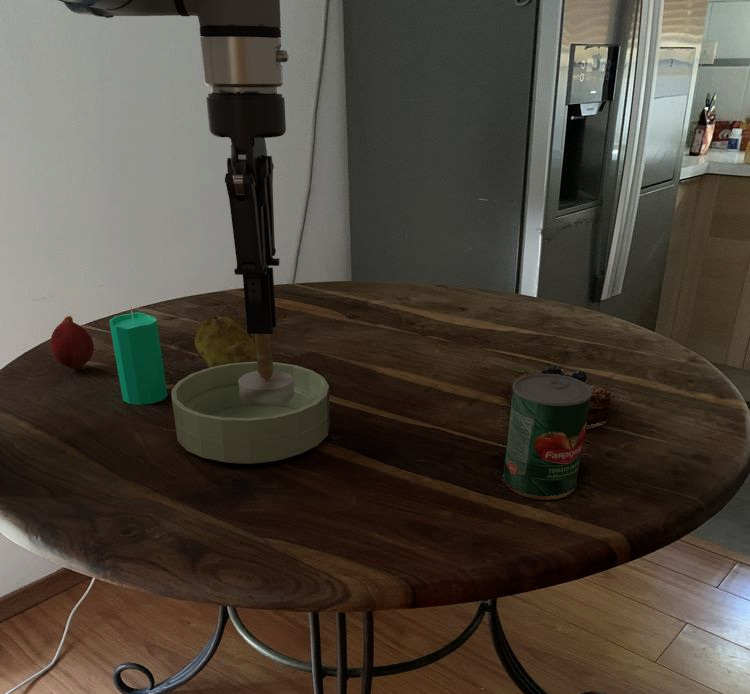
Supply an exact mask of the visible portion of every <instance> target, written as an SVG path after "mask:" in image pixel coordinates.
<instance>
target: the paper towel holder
mask: <svg viewBox="0 0 750 694" xmlns="http://www.w3.org/2000/svg"><path fill="white" fill-rule="evenodd" d="M266 273H267V272H266ZM254 342H255V344H256V356H257V369H258V371H254V372H250V373H247V374H245V375H243V376H241V377H240V378H239V393H240V398H241V400H242V401H244V402H246V403H249V404H252V405H261V406H268V405H277V404H281V403H284V402H287V401H289V400H291V399H292V398H293V396H294V378H293V376H292V375H291V374H289V373H287V372H283V371H278V370H273V362H274V358H273V348H272V347H273V346H272V345H273V344H272V343H273V342H272V334H254Z"/></svg>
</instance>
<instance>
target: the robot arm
mask: <svg viewBox="0 0 750 694" xmlns="http://www.w3.org/2000/svg"><path fill="white" fill-rule="evenodd" d="M58 1H59V2H61V3H64V5H65V7H66V8H67V9H68V10H70V12H72V13H74V14H77V15H84V16H95V17H99V18H101V17H102V18H105V19H110V18H114V17H165V16H166V17H167V16H169V17H173V16H175V17H177V16H181V17H191V16H192V17H197V19H198V24H199V36H200V50H201V60H202V73H203V83H204V85H206V86H207V87H210V93H208V94H207V97H205V99H206V108H207V109H206V111H207V123H208V131H209V133H210V134H211V135H212V136H214V137H216V138H228V139H230V144H231V145H230V157H227V159H226V173H225V177H224V183H225V186H226V190H227V195H228V201H229V207H230V208H229V209H230V217H231V218H230V219H231V226H232V234H233V243H234V252H235V258H236V259H235V260H236V268H234V269H233V270H234V275H236V276H242V282H243V283H242V284H243V294H244V296H243V297H244V308H245V319H246V320H245V321H246V331H247V333H248V334H250V335H255V334H271V335H273V334H274V329H273V328H276V327H277V313H276V295H275V281H274V280H275V279H274V267H279V266H280V260H281V259H280V258H278V257H277V258H274V257H275V256H276V254H277V253H276V252H277V250H276V243H275V241H276V240H275V239H276V237H275V214H274V213H275V212H274V187H273V186H274V185H273V184H274V182H273V181H274V168H275V165H274V162H273V156H272V155H268V149H267V144H266V139H268V138H277V137H282V136H284V135H285V134H286V131H287V122H286V121H287V120H286V104H285V102H286V101H285V97H283V94H282V93H278V88H281V87H282V86H283V84H284V74H283V73H284V72H283V65H282V63H287V62H288V61H289V57H290V55H289V54H288V50H286V49H285V50H284V49H281V48H282V39H281V38H282V30H281V29H282V25H281V22H282V21H281V0H58ZM266 272H267V273H266Z"/></svg>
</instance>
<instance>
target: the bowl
mask: <svg viewBox="0 0 750 694" xmlns="http://www.w3.org/2000/svg"><path fill="white" fill-rule="evenodd" d="M273 370H278V371H283V372H287V373H289V374H291V375H292V376H293V378H294V396H293V398H292V399H291V400H289V401H287V402H284V403H281V404H277V405H268V406H261V405H252V404H249V403H246V402H244V401H242V400H241V398H240V393H239V378H240V377H241V376H243V375H245V374H247V373H250V372H254V371H258V369H257V362H243V363H231V364H226V365H221V366H216V367H211V368H209V367H208V368H204V369H202V370H199V371H196V372H193V373H191V374H189V375H187V376H186V377H183V378H182V379H181V380H178V381H177V382H176V384H175V385H174V387H173V388H172V389H171V391H170V394H171V405H172V410H173V411H172V412H173V417H174V425H175V426H174V427H175V431H176V439H177V442H178V443H179V445H181V446H182V448H184V449H185V450H186V451H187V452H189V453H191V454H193V455H196V456H198V457H200V458H202V459H205V460H211V461H216V462H222V463H226V464H235V465H236V464H237V465H254V464H265V463H266V464H267V463H273V462H277V461H278V462H279V461H282V460H286V459H289V458H292V457H295V456H298V455H301V454H303V453H305V452H307V451H309V450H311V449H313V448H315V447H317V446H319V445H320V444H321V443H322V442H323V441H324V440H325V439H326V438H327V437H328V435H329V430H330V426H331V418H330V417H331V416H330V415H331V413H330V411H331V409H330V384H328V382H327V380H326V379H325V377H324V376H322V375H321V374H319V373H317V372H316V371H314V370H313V369H310V368H306V367H303V366H300V365H296V364H290V363H283V362H277V361H273Z"/></svg>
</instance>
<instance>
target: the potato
mask: <svg viewBox="0 0 750 694" xmlns="http://www.w3.org/2000/svg"><path fill="white" fill-rule="evenodd" d="M194 346H195V349H196V352H197V355H198V357H199V358H200V359H201V361H202V362H203V363H205V365H206V366H207V367H208V368H211V367H216V366H221V365H226V364H231V363H243V362H257V356H256V343H255V340H254V338H253V336H252V334H248V333H247V329H244V328H243V327H242V326H240V325H239V324H238V322H237V321H236V320H234V318H232V317H229V316H225V315H223V314H220V315H212V316H209V317H207V318H206V319H204V320H202V321H200V322H199V324H198V325H197V327H196V330H195V333H194Z"/></svg>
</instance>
